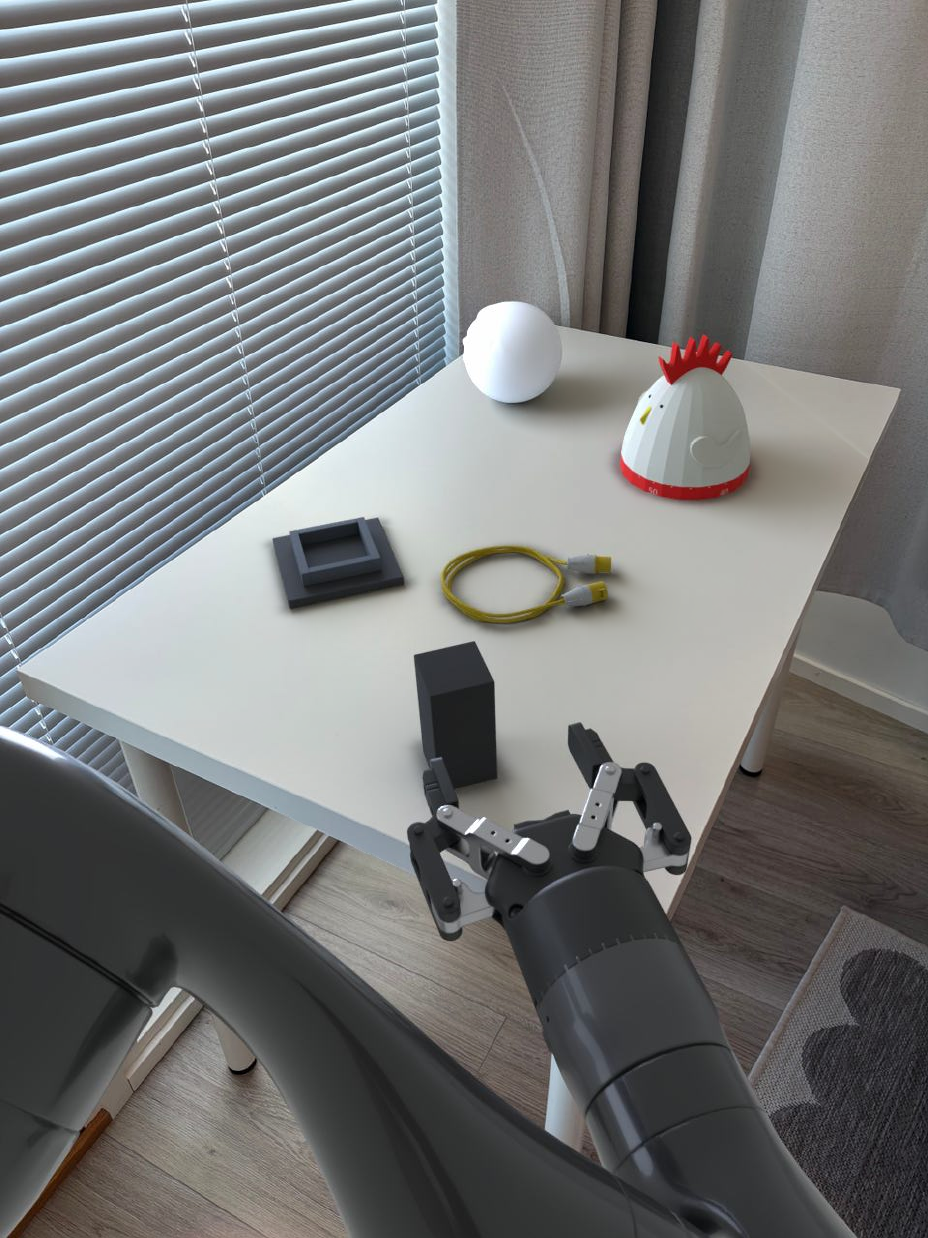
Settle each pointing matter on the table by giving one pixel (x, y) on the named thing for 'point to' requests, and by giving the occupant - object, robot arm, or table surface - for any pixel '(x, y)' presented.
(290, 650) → the table surface
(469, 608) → the yellow coiled cord
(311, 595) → the base pad
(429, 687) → the tall dark pillar
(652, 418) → the kitchen timer
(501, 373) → the decorative ball
